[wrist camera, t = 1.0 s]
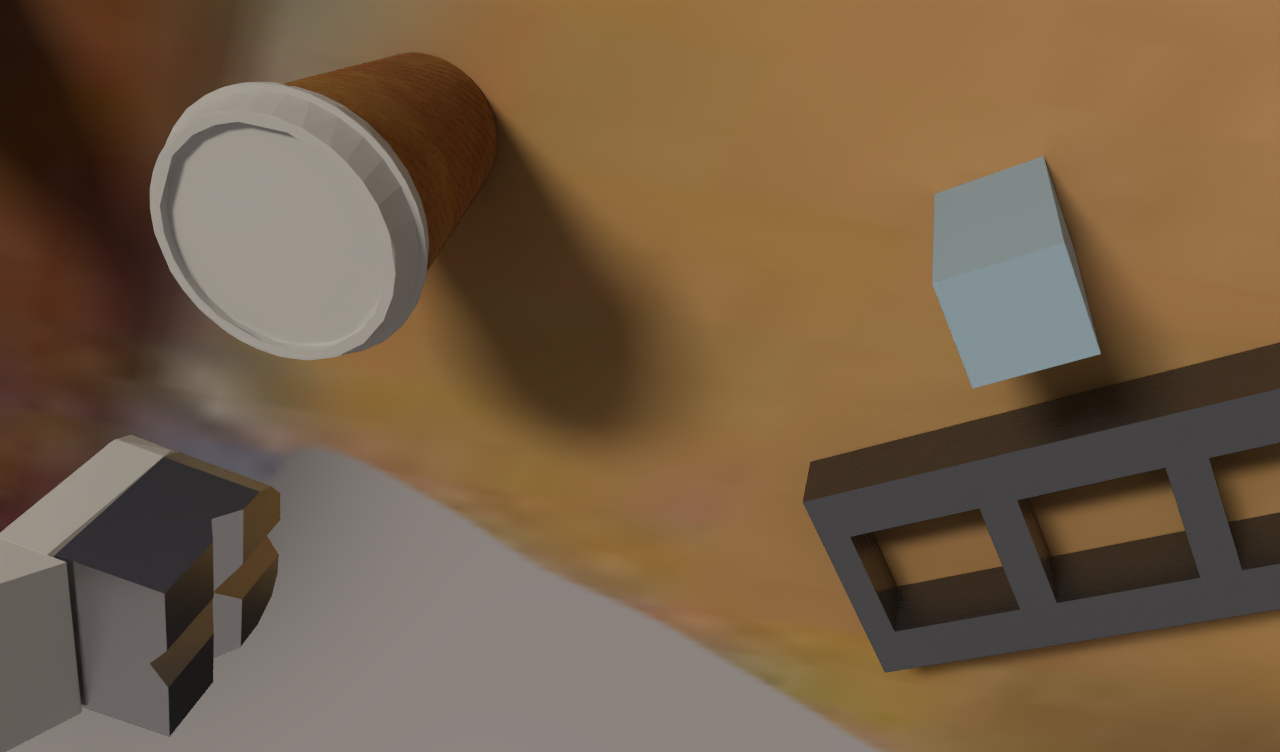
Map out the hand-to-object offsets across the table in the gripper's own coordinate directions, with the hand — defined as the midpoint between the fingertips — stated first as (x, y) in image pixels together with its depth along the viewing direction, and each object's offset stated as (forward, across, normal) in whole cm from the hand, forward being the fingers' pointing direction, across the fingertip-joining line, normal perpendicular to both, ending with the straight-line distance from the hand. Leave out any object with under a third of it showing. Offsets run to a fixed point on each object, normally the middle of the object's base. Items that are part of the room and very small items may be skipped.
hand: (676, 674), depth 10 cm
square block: (+32, -8, +6) cm, 34 cm away
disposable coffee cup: (+33, +16, +10) cm, 37 cm away
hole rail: (+32, -16, +16) cm, 39 cm away
